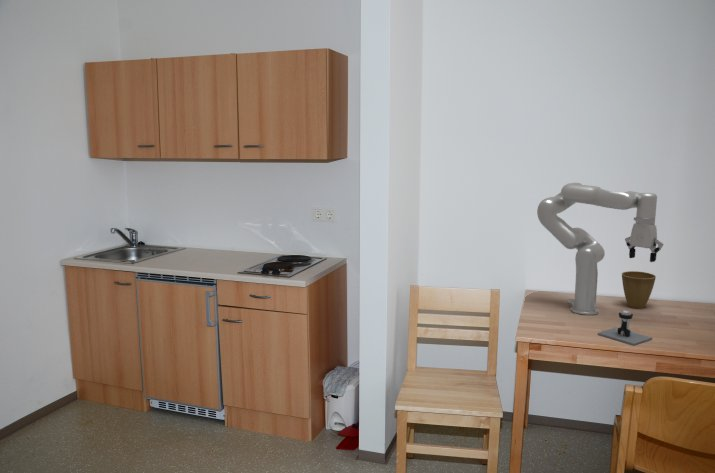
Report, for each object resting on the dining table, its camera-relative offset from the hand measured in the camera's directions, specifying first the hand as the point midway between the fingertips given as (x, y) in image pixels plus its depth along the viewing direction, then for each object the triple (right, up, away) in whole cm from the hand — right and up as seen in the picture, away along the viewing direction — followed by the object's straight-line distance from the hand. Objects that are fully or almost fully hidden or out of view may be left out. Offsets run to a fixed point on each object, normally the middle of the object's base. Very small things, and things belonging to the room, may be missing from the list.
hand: (642, 259), depth 256 cm
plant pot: (+10, -24, +27) cm, 38 cm away
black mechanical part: (-16, -31, -16) cm, 38 cm away
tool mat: (-16, -31, -17) cm, 39 cm away
